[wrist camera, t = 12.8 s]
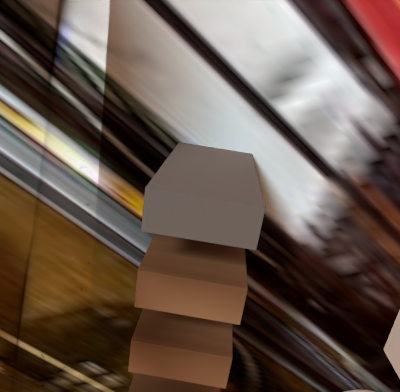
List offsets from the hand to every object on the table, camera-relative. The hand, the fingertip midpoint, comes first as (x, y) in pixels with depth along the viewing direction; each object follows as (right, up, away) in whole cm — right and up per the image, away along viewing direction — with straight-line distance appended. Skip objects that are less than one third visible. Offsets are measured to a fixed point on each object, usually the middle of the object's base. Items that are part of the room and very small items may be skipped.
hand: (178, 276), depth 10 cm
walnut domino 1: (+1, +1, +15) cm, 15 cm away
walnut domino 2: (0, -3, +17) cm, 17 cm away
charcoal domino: (+1, +5, +14) cm, 15 cm away
